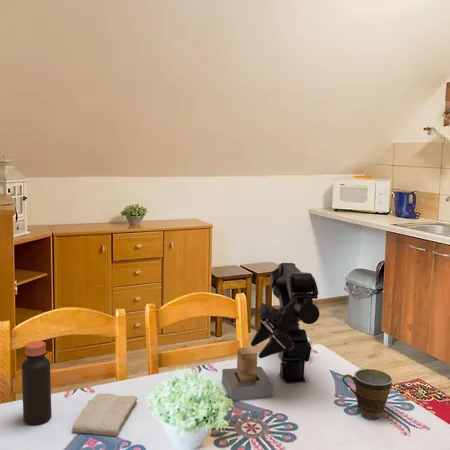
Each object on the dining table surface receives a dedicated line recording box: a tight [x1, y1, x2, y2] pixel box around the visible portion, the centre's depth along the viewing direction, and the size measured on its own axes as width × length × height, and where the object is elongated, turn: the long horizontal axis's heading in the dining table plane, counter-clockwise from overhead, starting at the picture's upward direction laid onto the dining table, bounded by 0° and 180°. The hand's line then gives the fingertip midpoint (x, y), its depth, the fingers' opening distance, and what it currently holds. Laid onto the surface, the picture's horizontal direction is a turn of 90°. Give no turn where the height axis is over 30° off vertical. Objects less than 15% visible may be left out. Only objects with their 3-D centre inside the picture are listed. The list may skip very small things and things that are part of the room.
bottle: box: [21, 340, 52, 426], centre depth 131 cm, size 7×7×20 cm
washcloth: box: [71, 393, 138, 437], centre depth 135 cm, size 12×18×3 cm, turn 174°
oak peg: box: [236, 346, 258, 382], centre depth 151 cm, size 5×5×12 cm
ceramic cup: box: [342, 368, 394, 418], centre depth 141 cm, size 13×10×10 cm
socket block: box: [221, 366, 274, 402], centre depth 152 cm, size 12×12×4 cm
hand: (255, 351), depth 151 cm, fingers open, 9 cm apart
